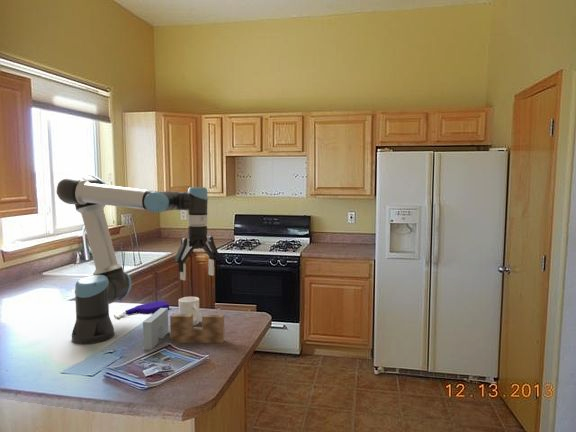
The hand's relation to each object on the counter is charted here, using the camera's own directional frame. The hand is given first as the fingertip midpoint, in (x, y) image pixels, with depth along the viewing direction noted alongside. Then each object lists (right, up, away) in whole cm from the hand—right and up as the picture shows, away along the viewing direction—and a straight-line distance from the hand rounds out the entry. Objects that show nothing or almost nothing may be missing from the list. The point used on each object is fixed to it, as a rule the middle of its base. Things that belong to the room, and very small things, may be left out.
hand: (197, 277), depth 170 cm
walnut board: (+2, -23, -10) cm, 25 cm away
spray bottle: (-32, -21, +27) cm, 47 cm away
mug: (-5, -22, +9) cm, 24 cm away
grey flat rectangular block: (-14, -23, -9) cm, 28 cm away
